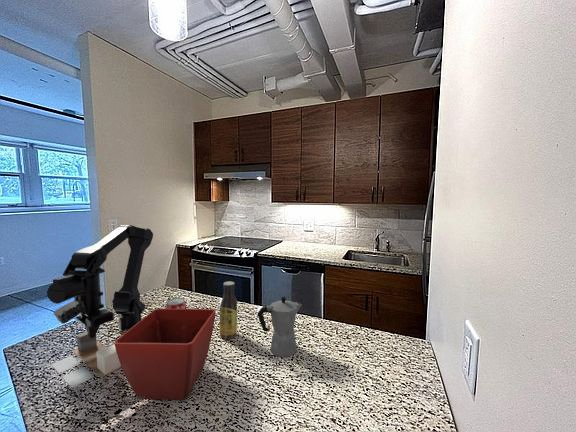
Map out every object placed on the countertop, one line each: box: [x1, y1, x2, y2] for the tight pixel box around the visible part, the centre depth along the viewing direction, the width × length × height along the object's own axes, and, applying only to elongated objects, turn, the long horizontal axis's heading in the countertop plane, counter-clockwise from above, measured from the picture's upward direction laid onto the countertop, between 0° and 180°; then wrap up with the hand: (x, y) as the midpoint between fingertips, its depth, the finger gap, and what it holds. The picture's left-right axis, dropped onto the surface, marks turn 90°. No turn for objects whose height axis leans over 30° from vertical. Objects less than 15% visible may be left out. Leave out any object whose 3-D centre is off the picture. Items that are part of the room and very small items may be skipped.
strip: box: [72, 331, 122, 378], centre depth 80 cm, size 22×7×6 cm, turn 57°
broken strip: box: [50, 355, 95, 389], centre depth 74 cm, size 17×5×1 cm, turn 56°
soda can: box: [164, 297, 188, 309], centre depth 95 cm, size 7×7×13 cm
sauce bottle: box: [219, 280, 238, 340], centre depth 94 cm, size 6×6×20 cm
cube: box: [96, 343, 122, 374], centre depth 76 cm, size 5×5×5 cm
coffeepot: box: [257, 296, 303, 358], centre depth 85 cm, size 15×9×18 cm, turn 110°
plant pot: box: [113, 308, 216, 401], centre depth 71 cm, size 19×19×17 cm
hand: (92, 337), depth 83 cm, fingers closed
